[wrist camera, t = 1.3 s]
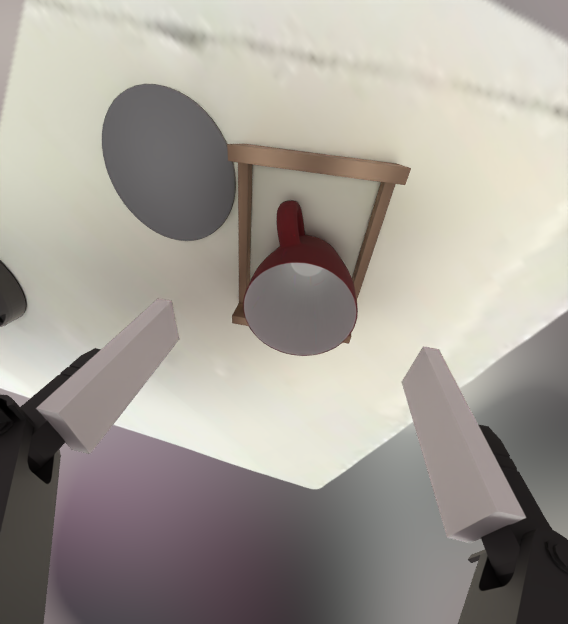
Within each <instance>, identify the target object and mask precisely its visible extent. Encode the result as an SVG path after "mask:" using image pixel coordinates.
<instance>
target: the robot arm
mask: <svg viewBox="0 0 568 624" xmlns="http://www.w3.org/2000/svg"><path fill="white" fill-rule="evenodd" d="M25 308H26V303H25V298H24V295H23V292H22V290H21V288H20V287H19V285H18V283H17V282H16V280H15V279H14V277H13V276H12V275H11V274H10V272H9V271H8V270H7V269H6V268H5V267H4V266H3V265H2V263H1V262H0V327H2V326H4V325H7V324H8V323H10V322H12V321H14V320H15V319H17V318H19V317H21V316H22V315H23V313H24V312H25ZM178 340H179V335H178V330H177V325H176V320H175V315H174V310H173V305H172V301H170V300H165V299H159V298H158V299H157V300H156V301H155V302H153V303H152V304H151V305H150V306H149V307H148V308H147V309H146V310H145V311H143V312H142V313H141V314H140V315H139V316H138V317H137V318H136V319H135V320H133V321H132V322H131V323H130V324H129V325H128V326H127V327H126V328H125V329H123V330H122V331H121V332H120V333H119V334H118V335H117V336H116V337H115V338H113V339H112V340H111V341H110V342H109V343H108V344H107V345H106V346H105V347H103V348H102V349H96V348H95V349H93V350H91V351H89V352H87V353H85V354H83V355H81V356H80V357H79V358H78V359H76V360H75V361H74V362H73V363H72V364H71V365H70V367H67V368H66V369H65V370H64V371H62V372H61V374H60V375H58V376H56V377H55V378H54V379H53V380H52V381H51V382H49V383H48V384H47V385H46V386H45V387H44V388H42V389H41V390H40V391H39V392H38V393H37V394H35V395H34V396H33V397H32V398H31V399H30V400H28V401H27V402H26V403H25V404H24V405H22V406H21V407H19V406H18V405H17V403H16V402H15V401H14V400H13V399H12V398H11V397H9V396H8V395H0V624H43V623H44V614H45V613H44V612H45V604H46V594H47V584H48V573H49V564H50V555H51V545H52V535H53V525H54V516H55V506H56V495H57V486H58V477H59V466H60V457H61V455H60V450H59V449H60V448H61V446H62V445H63V444H64V443H66V444H67V445H68V446H69V447H70V448H71V449H72V450H75V451H79V452H83V453H88V454H91V453H92V451H93V450H94V448H96V446H97V445H98V444H99V442H100V441H101V440H102V438H103V437H104V436H105V435H106V433H107V432H108V431H109V429H110V428H111V427H112V426H113V424H114V423H115V422H116V420H117V419H118V418H119V417H120V415H121V414H122V413H123V411H124V410H125V409H126V407H127V406H128V405H129V404H130V402H131V401H132V400H133V398H134V397H135V396H136V395H137V393H138V392H139V391H140V389H141V388H142V387H143V385H144V384H145V383H146V382H147V380H148V379H149V378H150V376H151V375H152V374H153V373H154V371H155V370H156V369H157V367H158V366H159V365H160V363H161V362H162V361H163V360H164V358H165V357H166V356H167V354H168V353H169V352H170V351H171V349H172V348H173V347H174V345H175V344H176V343H177V342H178ZM402 385H403V388H404V392H405V395H406V398H407V402H408V405H409V409H410V412H411V415H412V419H413V422H414V426H415V429H416V433H417V436H418V439H419V443H420V446H421V449H422V453H423V456H424V460H425V463H426V467H427V470H428V474H429V477H430V480H431V484H432V487H433V491H434V494H435V498H436V501H437V504H438V508H439V511H440V514H441V518H442V521H443V525H444V528H445V532H446V535H447V537H448V538H451V539H455V540H460V541H465V542H468V543H471V542H474V541H476V540H478V539H480V538H481V539H482V542H483V545H484V547H485V550H482V551H480V552H478V553H475V554H472V555H471V556H470V557H469V559H468V560H469V561H470V562H471V563H473V562H476V561H478V560H479V561H478V564H477V567H476V570H475V573H474V576H473V579H472V582H471V585H470V588H469V591H468V594H467V597H466V600H465V604H464V607H463V610H462V613H461V616H460V619H459V622H458V624H568V540H567V539H566V538H565V537H563V536H562V535H560V534H558V533H557V532H555V531H554V530H552V528H551V527H550V525H549V524H548V522H547V520H546V519H545V517H544V515H543V514H542V512H541V510H540V508H539V506H538V505H537V503H536V501H535V499H534V498H533V496H532V494H531V492H530V491H529V489H528V487H527V485H526V484H525V482H524V480H523V478H522V476H521V475H520V473H519V472H517V468H516V466H515V464H514V462H513V461H512V459H510V457H509V456H510V455H509V454H508V452H507V450H506V449H505V447H504V445H503V443H502V441H501V440H500V439H499V438H498V437H497V436H496V434H495V433H494V432H493V431H492V430H491V429H490V428H489V427H488V426H483V425H478V424H477V422H476V420H475V418H474V416H473V414H472V412H471V410H470V408H469V406H468V404H467V402H466V401H465V399H464V397H463V395H462V393H461V391H460V389H459V387H458V385H457V383H456V381H455V379H454V377H453V375H452V373H451V372H450V370H449V368H448V366H447V364H446V362H445V360H444V358H443V356H442V354H441V352H440V350H439V349H434V348H429V347H423V348H422V349H421V351H420V353H419V354H418V356H417V357H416V359H415V361H414V362H413V364H412V366H411V367H410V369H409V371H408V372H407V374H406V376H405V377H404V379H403V381H402Z"/></svg>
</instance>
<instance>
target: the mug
mask: <svg viewBox="0 0 568 624" xmlns="http://www.w3.org/2000/svg"><path fill="white" fill-rule="evenodd" d="M277 231H278V237H279V242H280V247H279V248H277V249H276V250H275V251H274V252H273V253H271V254H270V255H269V256H268V257H267V258H266V259H265V260H264V261H263V262H262V263H261V264H260V266H259V267H258V268H257V270H256V271H255V273H254V275H253V277H252V279H251V281H250V283H249V285H248V287H247V289H246V292H245V295H244V299H243V311H244V316H245V319H246V322H247V324H248V326H249V327H250V329H251V330H252V332H253V333H254V334H255V335H256V336H257V337H258V338H259V339H260V340H261V341H262V342H263V343H265V344H266V345H268V346H269V347H271V348H273V349H275V350H278V351H280V352H283V353H287V354H291V355H299V356H309V355H317V354H321V353H324V352H327V351H330V350H332V349H334V348H336V347H337V346H339V345H340V344H341V343H343V342H344V341H345V340H346V339H347V338H348V336H349V335H350V334H351V332H352V331H353V329H354V326H355V324H356V320H357V312H358V309H357V299H356V293H355V287H354V284H353V280H352V278H351V275H350V273H349V271H348V269H347V268H346V266H345V264H344V263H343V261H342V260H341V258H340V257H339V255H338V253H337V252H336V251H335V249H334V248H333V247H332V246H331V245H330V244H328V243H327V242H325V241H324V240H322V239H319V238H317V237H313V236H309V235H305V231H304V222H303V215H302V211H301V208H300V205H299V203H297V202H296V201H286V202H283V203H282V204H280V206H279V208H278V210H277Z"/></svg>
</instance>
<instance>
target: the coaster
mask: <svg viewBox="0 0 568 624" xmlns="http://www.w3.org/2000/svg"><path fill="white" fill-rule="evenodd" d="M102 149H103V156H104V161H105V165H106V168H107V171H108V174H109V177H110V179H111V182H112V184H113V186H114V188H115V190H116V191H117V193H118V195H119V196H120V198H121V199H122V201H123V202H124V204H125V205H126V206H127V208H128V209H129V210H130V211H131V212H132V213H133V214H134V215H135V216H136V217H137V218H138V219H139V220H140V221H141V222H142V223H143V224H145V225H146V226H147V227H149V228H150V229H152V230H153V231H155V232H157V233H159V234H161V235H163V236H166V237H168V238H171V239H176V240H183V241H192V240H198V239H201V238H204V237H206V236H208V235H210V234H212V233H213V232H214V231H216V230H217V229H218V228H219V227H220V226H221V225H222V224H223V223H224V222H225V220H226V219H227V217H228V215H229V213H230V211H231V209H232V205H233V202H234V197H235V188H236V180H235V170H234V164H233V162H231V161H228V150H227V143H226V141H225V139H224V137H223V135H222V133H221V131H220V130H219V128H218V127H217V125H216V124H215V122H214V121H213V120H212V118H211V117H210V116H209V115H208V114H207V112H206V111H205V110H203V109H202V108H201V107H200V106H199V105H198V104H197V103H196V102H194V101H193V100H192V99H190V98H189V97H188V96H186V95H184V94H182V93H180V92H179V91H176V90H173V89H171V88H168V87H165V86H161V85H156V84H142V85H136V86H134V87H131V88H129V89H127V90H125V91H124V92H122V93H121V94H120V95H119V96H118V97H117V98H116V99H115V100H114V101H113V102H112V104H111V106H110V107H109V109H108V111H107V114H106V116H105V120H104V124H103V130H102Z"/></svg>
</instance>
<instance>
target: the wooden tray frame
mask: <svg viewBox="0 0 568 624" xmlns="http://www.w3.org/2000/svg"><path fill="white" fill-rule="evenodd" d="M227 150H228V161H231V162H238V213H239V304H238V306H237V308H236V310H235V311H234V313H233V315H232V323H234V324H240V325H246V326H248V324H247V322H246V319H245V316H244V311H243V299H244V295H245V292H246V289H247V287H248V285H249V283H250V248H251V204H252V164H254V165H261V166H268V167H276V168H283V169H290V170H298V171H305V172H313V173H320V174H327V175H335V176H342V177H350V178H357V179H364V180H372V181H379V182H381V184H380V187H379V191H378V194H377V197H376V201H375V204H374V207H373V211H372V214H371V217H370V221H369V224H368V227H367V231H366V234H365V237H364V241H363V244H362V247H361V251H360V254H359V257H358V260H357V264H356V267H355V270H354V274H353V277H352V280H353V284H354V287H355V293H356V299H357V298H358V295H359V292H360V289H361V286H362V283H363V280H364V277H365V274H366V271H367V268H368V265H369V262H370V259H371V256H372V253H373V250H374V247H375V244H376V241H377V238H378V235H379V232H380V229H381V226H382V223H383V220H384V217H385V214H386V211H387V208H388V205H389V202H390V199H391V196H392V193H393V190H394V187H395V184H401V185H405V184H406V181H407V178H408V176H409V173H410V170H411V168H408V167H405V166H402V165H399V164H394V163H387V162H379V161H371V160H364V159H356V158H349V157H341V156H333V155H326V154H318V153H310V152H303V151H295V150H287V149H280V148H272V147H264V146H257V145H249V144H227ZM350 339H351V334H350V335H349V336H348V338H347V339H346V340H345V341H344V342H343V343H348V344H349V342H350Z"/></svg>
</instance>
